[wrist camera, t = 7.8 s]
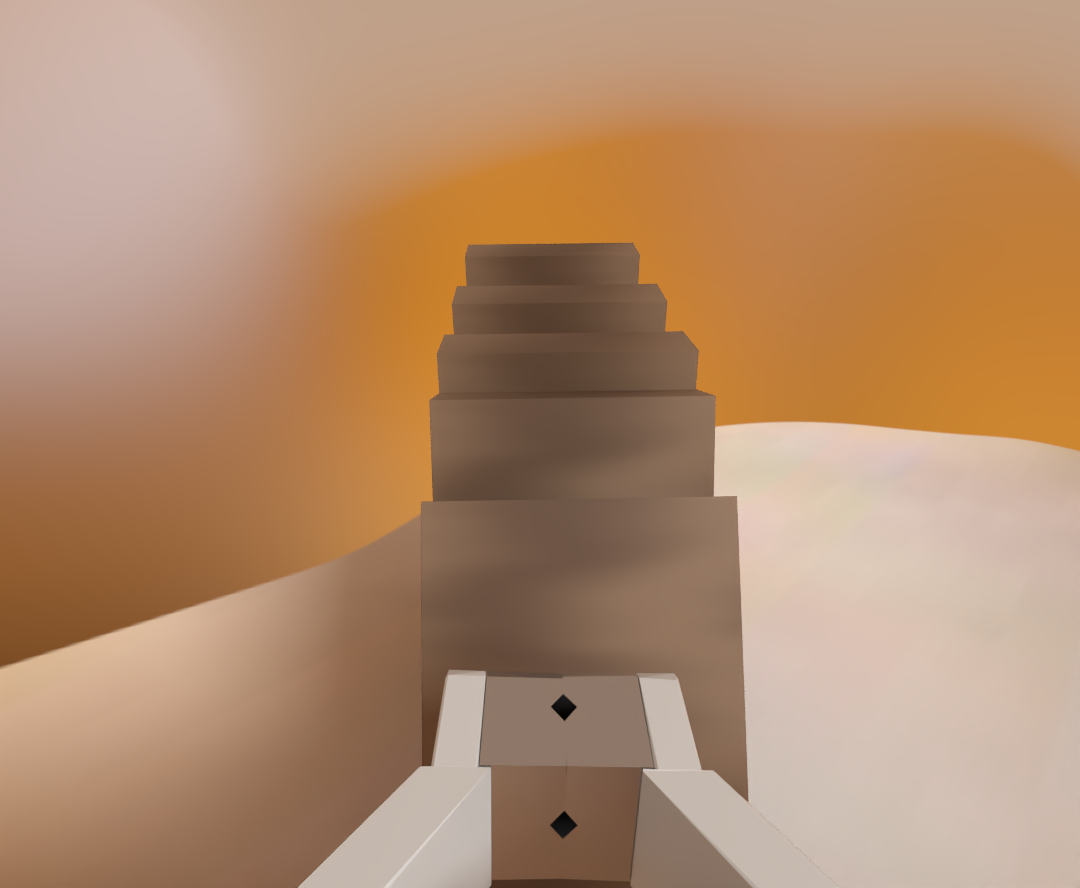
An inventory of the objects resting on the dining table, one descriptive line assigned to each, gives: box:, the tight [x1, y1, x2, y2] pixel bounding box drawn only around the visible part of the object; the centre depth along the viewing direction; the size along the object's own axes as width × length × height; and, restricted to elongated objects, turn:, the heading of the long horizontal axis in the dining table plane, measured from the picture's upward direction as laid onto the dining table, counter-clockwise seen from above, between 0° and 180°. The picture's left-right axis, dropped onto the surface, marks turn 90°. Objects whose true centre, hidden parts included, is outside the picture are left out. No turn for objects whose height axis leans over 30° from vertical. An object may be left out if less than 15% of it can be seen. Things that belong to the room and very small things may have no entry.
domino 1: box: [465, 243, 640, 286], centre depth 30 cm, size 6×2×15 cm, turn 91°
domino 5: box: [421, 496, 748, 888], centre depth 15 cm, size 6×2×15 cm
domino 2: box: [452, 284, 667, 335], centre depth 25 cm, size 6×2×15 cm, turn 91°
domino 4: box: [430, 390, 716, 502], centre depth 18 cm, size 6×2×15 cm, turn 91°
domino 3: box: [437, 331, 699, 393], centre depth 21 cm, size 6×2×15 cm, turn 91°
